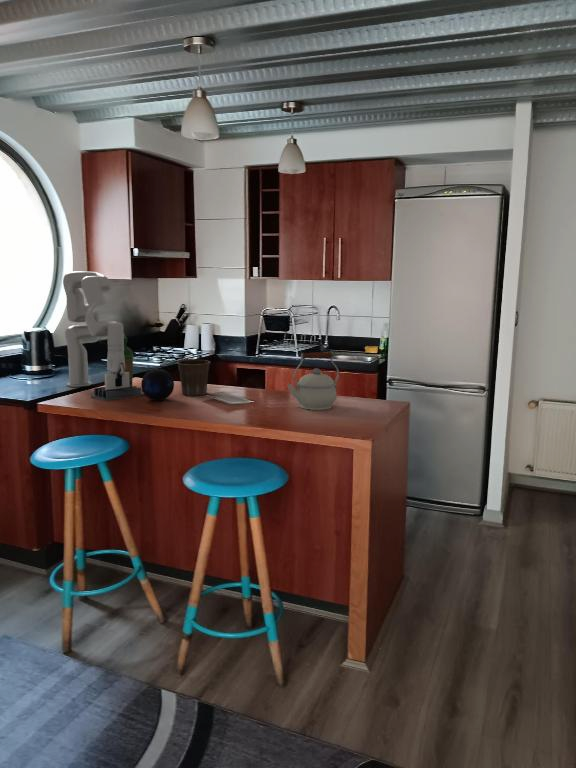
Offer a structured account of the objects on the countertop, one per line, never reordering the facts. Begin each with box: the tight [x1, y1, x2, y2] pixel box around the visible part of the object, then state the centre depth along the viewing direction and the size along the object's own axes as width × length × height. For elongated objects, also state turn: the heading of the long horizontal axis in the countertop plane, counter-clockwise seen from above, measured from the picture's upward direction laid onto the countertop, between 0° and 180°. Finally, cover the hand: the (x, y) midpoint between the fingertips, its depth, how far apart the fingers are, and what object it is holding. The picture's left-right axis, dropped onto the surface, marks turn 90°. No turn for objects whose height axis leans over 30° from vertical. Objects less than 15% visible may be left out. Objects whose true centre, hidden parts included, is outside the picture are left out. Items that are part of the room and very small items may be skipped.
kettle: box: [286, 351, 340, 411], centre depth 281 cm, size 25×18×25 cm
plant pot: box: [176, 359, 211, 397], centre depth 310 cm, size 16×16×16 cm
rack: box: [89, 384, 146, 402], centre depth 305 cm, size 14×22×4 cm, turn 133°
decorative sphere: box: [140, 368, 175, 402], centre depth 294 cm, size 15×15×15 cm
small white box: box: [104, 372, 130, 390], centre depth 304 cm, size 2×12×10 cm, turn 134°
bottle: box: [118, 333, 134, 385], centre depth 322 cm, size 11×11×28 cm
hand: (117, 385), depth 304 cm, fingers closed on small white box, 2 cm apart
